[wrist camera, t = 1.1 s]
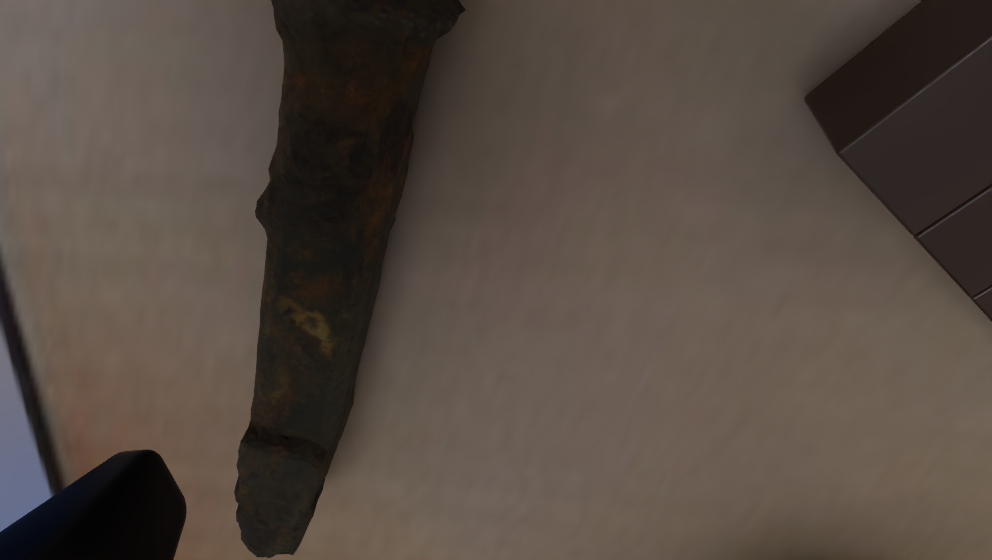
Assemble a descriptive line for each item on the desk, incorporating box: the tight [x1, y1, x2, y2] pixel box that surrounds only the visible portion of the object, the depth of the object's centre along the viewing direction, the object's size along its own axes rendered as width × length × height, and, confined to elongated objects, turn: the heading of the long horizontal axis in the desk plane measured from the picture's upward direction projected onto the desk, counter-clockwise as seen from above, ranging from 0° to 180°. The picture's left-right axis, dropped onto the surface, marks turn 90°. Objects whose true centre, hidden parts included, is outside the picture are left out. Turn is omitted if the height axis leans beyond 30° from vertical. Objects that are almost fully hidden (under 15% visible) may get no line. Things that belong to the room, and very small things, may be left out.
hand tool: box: [234, 0, 465, 558], centre depth 22 cm, size 19×4×5 cm, turn 163°
